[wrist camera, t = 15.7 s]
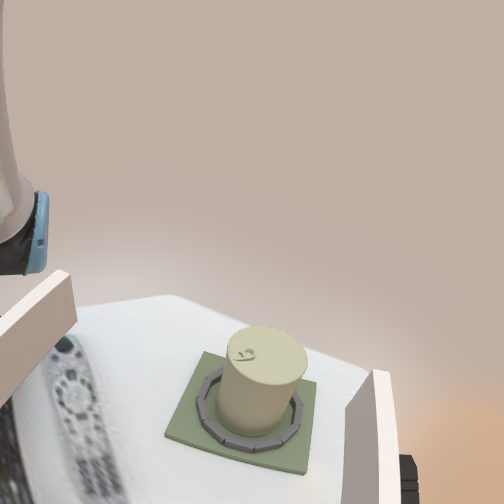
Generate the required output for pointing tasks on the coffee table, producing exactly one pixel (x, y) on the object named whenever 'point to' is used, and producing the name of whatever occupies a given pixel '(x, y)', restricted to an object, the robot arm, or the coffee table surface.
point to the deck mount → (234, 445)
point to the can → (258, 379)
